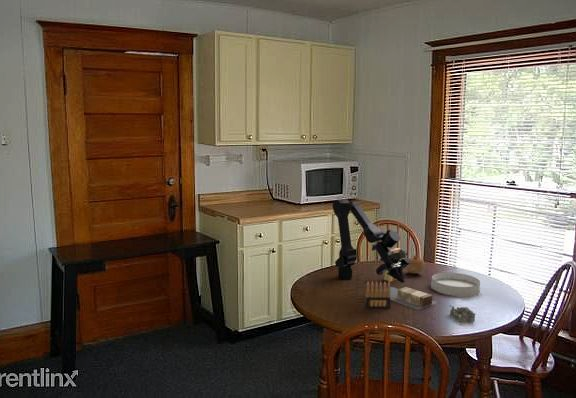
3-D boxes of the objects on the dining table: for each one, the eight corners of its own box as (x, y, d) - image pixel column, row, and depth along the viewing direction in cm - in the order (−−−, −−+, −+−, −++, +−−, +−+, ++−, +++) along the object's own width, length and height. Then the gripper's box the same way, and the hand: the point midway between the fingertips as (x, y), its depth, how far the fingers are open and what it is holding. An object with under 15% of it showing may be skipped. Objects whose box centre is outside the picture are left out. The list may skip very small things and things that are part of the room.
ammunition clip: (389, 307, 224) (390, 280, 222) (390, 309, 222) (391, 281, 220) (364, 307, 224) (365, 280, 222) (365, 308, 222) (366, 281, 220)
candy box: (395, 277, 265) (396, 247, 263) (402, 279, 262) (403, 249, 260) (383, 280, 260) (385, 250, 257) (390, 282, 257) (391, 252, 254)
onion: (426, 277, 266) (427, 257, 264) (407, 276, 266) (408, 257, 264) (421, 271, 275) (422, 252, 274) (403, 271, 275) (404, 252, 274)
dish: (482, 286, 254) (482, 276, 253) (477, 300, 234) (478, 289, 233) (435, 279, 263) (435, 270, 262) (426, 293, 243) (427, 282, 242)
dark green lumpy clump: (447, 314, 218) (448, 304, 217) (465, 313, 219) (465, 303, 218) (459, 323, 208) (459, 313, 207) (477, 323, 208) (477, 313, 208)
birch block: (397, 289, 233) (423, 298, 222) (406, 286, 237) (432, 295, 226) (397, 298, 234) (423, 307, 223) (406, 295, 238) (431, 304, 227)
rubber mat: (371, 293, 240) (371, 292, 240) (391, 287, 249) (391, 286, 249) (418, 310, 220) (418, 309, 220) (438, 303, 229) (438, 302, 229)
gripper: (381, 246, 230) (400, 277, 223) (408, 240, 241) (427, 269, 235) (367, 260, 237) (385, 290, 230) (394, 253, 249) (412, 282, 242)
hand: (403, 282), depth 234 cm, fingers closed
